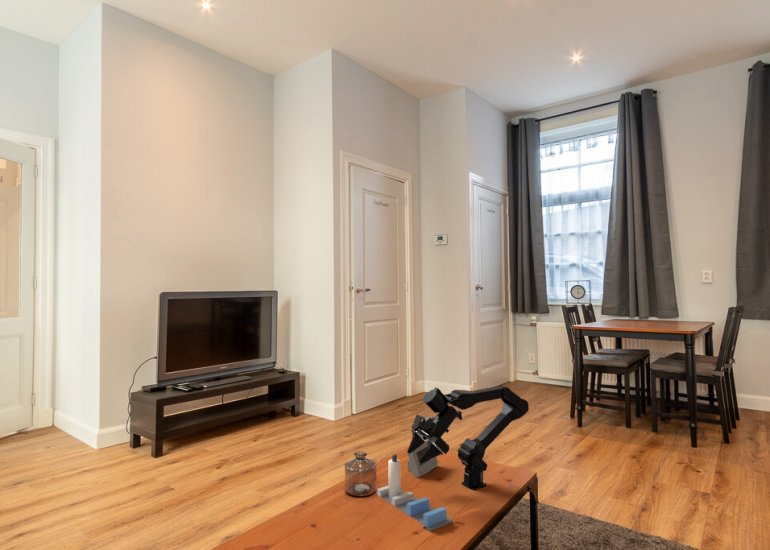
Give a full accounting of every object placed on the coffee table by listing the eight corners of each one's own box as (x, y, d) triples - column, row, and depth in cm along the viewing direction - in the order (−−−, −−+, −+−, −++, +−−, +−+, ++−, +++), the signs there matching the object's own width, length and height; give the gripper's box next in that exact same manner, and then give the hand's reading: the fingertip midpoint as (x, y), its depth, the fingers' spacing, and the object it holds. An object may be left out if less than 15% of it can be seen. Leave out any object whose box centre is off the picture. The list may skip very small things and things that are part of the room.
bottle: (395, 493, 159) (395, 451, 159) (402, 498, 155) (402, 455, 156) (386, 496, 156) (386, 454, 157) (393, 501, 153) (393, 458, 153)
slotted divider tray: (396, 489, 164) (396, 477, 164) (452, 522, 141) (452, 509, 141) (375, 495, 159) (375, 484, 159) (429, 531, 136) (429, 517, 136)
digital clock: (416, 480, 171) (416, 451, 171) (398, 473, 178) (398, 445, 178) (444, 468, 182) (444, 441, 182) (427, 462, 189) (427, 435, 189)
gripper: (415, 400, 170) (387, 434, 165) (441, 413, 152) (410, 452, 148) (435, 419, 172) (407, 454, 168) (462, 434, 155) (432, 473, 151)
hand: (413, 457), depth 159 cm, fingers open, 9 cm apart
